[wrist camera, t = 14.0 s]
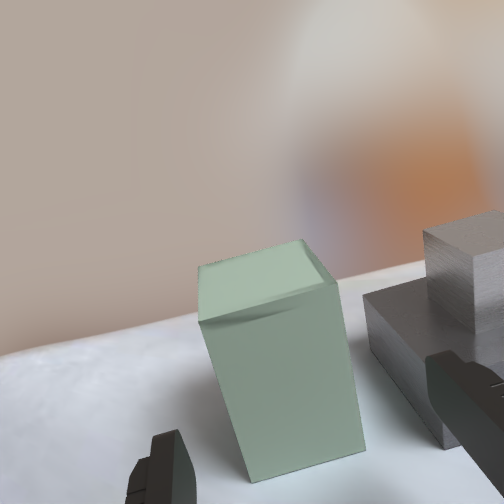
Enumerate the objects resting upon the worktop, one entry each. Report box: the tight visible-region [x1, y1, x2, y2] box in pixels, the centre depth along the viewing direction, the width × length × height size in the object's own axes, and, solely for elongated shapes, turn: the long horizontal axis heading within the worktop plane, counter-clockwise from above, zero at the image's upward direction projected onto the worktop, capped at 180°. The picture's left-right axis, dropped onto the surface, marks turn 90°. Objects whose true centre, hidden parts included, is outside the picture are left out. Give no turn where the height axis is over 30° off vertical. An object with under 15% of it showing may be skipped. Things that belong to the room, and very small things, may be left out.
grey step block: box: [363, 210, 504, 450], centre depth 20 cm, size 10×8×8 cm
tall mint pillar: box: [198, 239, 366, 483], centre depth 20 cm, size 6×6×9 cm
